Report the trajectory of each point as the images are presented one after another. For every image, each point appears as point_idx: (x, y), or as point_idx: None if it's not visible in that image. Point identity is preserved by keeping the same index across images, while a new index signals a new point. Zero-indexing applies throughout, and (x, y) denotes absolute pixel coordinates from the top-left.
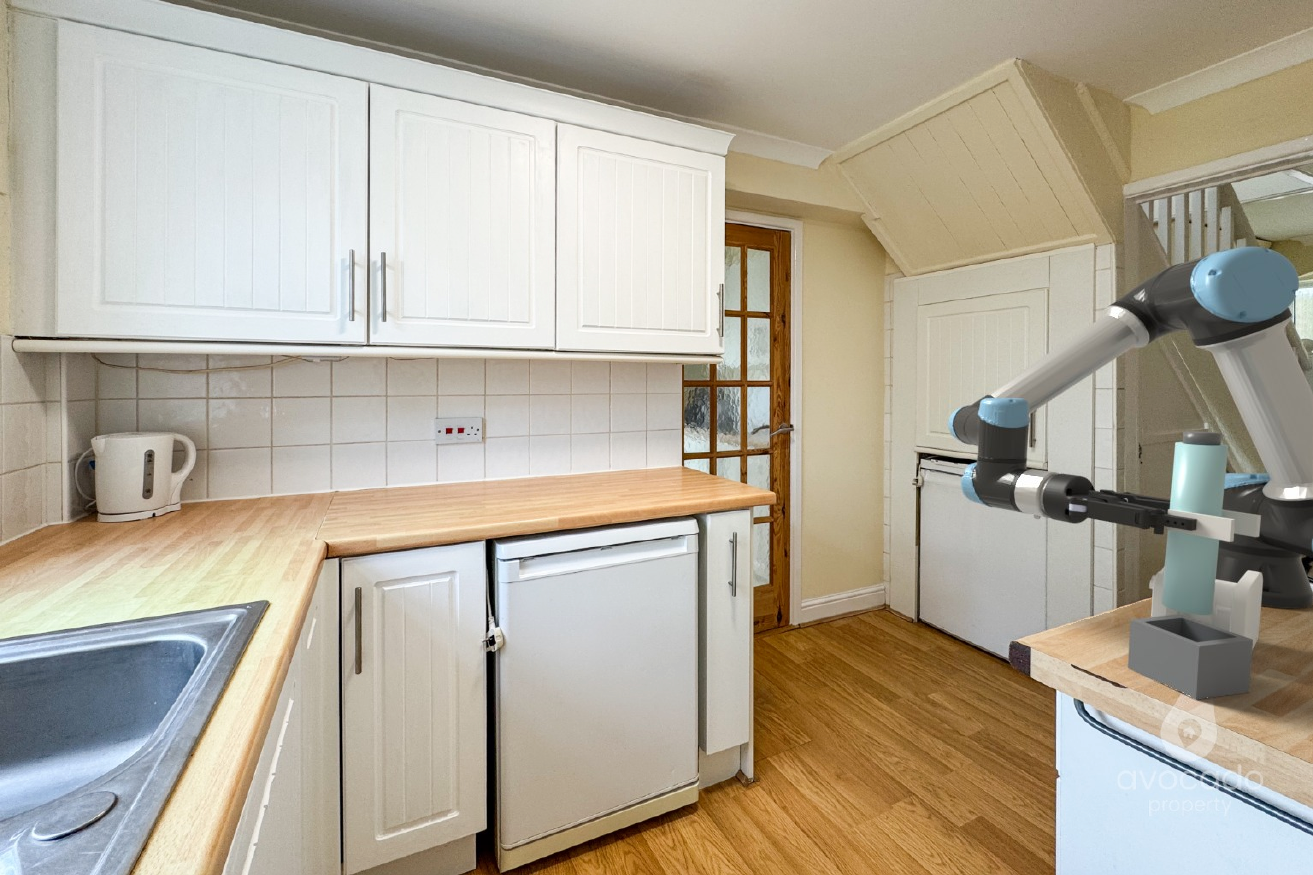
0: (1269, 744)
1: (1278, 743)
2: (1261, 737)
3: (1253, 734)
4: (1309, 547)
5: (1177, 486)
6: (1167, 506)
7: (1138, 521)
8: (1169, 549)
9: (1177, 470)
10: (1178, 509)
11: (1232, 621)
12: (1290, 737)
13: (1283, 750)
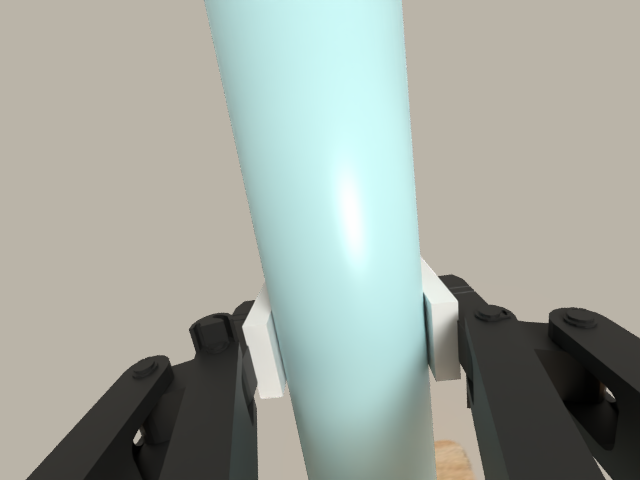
0: (463, 457)
1: (449, 455)
2: (458, 469)
3: (462, 476)
4: None
5: (415, 197)
6: (239, 425)
7: (605, 388)
8: (429, 453)
9: (407, 116)
10: (422, 290)
11: None
12: None
13: (459, 445)
